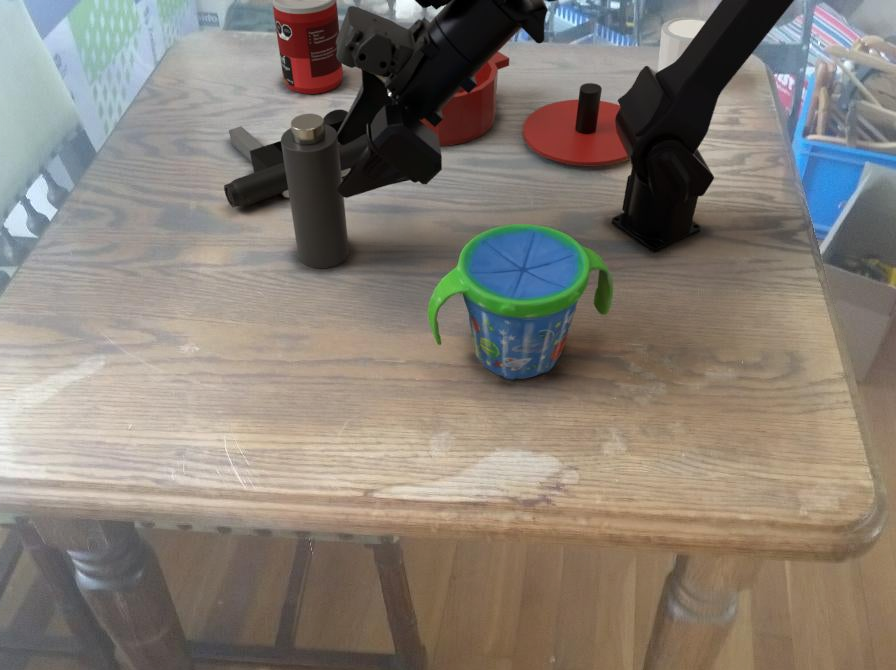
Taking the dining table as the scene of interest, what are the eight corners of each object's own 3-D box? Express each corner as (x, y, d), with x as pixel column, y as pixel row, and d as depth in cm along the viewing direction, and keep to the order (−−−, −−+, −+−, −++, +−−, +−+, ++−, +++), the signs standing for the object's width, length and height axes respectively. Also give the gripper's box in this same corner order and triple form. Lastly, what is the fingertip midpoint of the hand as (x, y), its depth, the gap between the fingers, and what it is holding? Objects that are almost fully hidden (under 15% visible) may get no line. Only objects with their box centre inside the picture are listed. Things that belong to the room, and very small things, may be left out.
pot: (534, 116, 105) (538, 68, 101) (404, 165, 99) (402, 116, 94) (470, 76, 113) (471, 30, 109) (346, 118, 107) (342, 72, 103)
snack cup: (436, 405, 73) (436, 312, 65) (421, 323, 80) (419, 232, 72) (619, 386, 73) (639, 292, 66) (588, 306, 80) (602, 214, 73)
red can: (290, 68, 117) (279, -17, 109) (348, 68, 116) (341, -17, 108) (277, 94, 112) (265, 8, 104) (338, 96, 111) (329, 8, 103)
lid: (674, 144, 99) (685, 93, 95) (576, 185, 94) (583, 133, 90) (591, 96, 108) (597, 47, 103) (497, 131, 103) (500, 82, 99)
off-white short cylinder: (665, 67, 112) (675, 12, 107) (716, 79, 109) (730, 23, 104) (642, 88, 108) (652, 32, 103) (695, 102, 105) (708, 45, 100)
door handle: (181, 138, 101) (235, 194, 90) (331, 90, 107) (398, 137, 97) (187, 164, 103) (241, 221, 93) (334, 116, 109) (400, 164, 99)
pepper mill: (358, 256, 87) (346, 124, 77) (313, 275, 86) (294, 142, 75) (333, 232, 91) (318, 101, 80) (289, 249, 89) (268, 118, 78)
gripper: (382, -65, 75) (274, 67, 83) (397, 25, 63) (267, 170, 71) (470, 20, 81) (360, 136, 89) (499, 118, 68) (369, 243, 76)
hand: (340, 167), depth 81 cm, fingers open, 9 cm apart
